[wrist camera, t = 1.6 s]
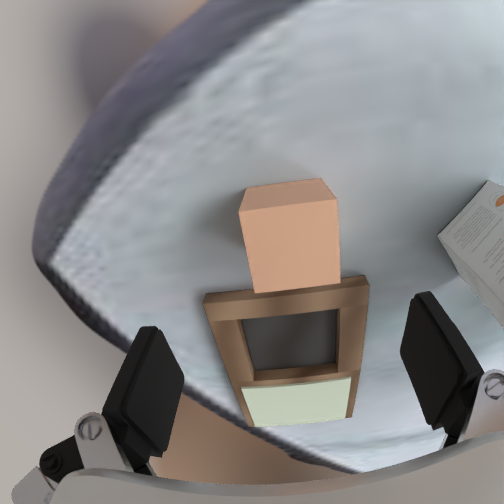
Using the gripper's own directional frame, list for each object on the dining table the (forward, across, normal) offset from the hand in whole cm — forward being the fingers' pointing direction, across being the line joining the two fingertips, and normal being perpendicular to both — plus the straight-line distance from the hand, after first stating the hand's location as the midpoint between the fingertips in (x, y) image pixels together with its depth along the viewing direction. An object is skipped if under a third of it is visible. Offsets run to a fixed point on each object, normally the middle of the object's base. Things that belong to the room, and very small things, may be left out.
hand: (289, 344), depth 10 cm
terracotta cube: (+13, -1, 0) cm, 13 cm away
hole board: (+13, 0, +17) cm, 22 cm away
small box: (+13, -19, +3) cm, 23 cm away
